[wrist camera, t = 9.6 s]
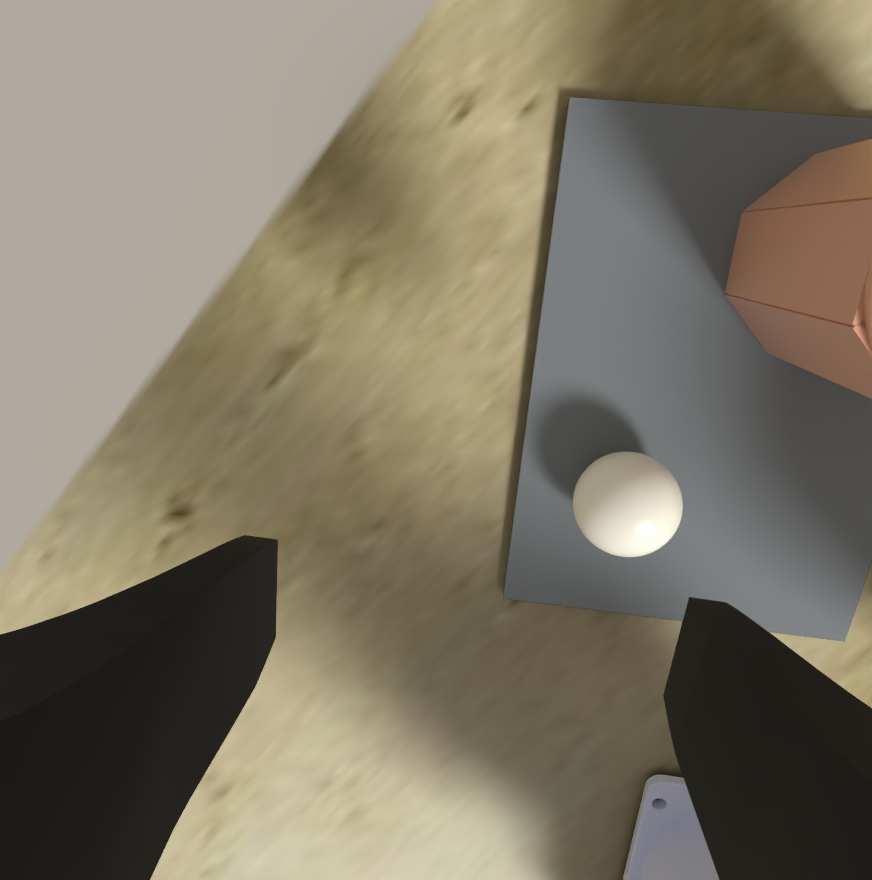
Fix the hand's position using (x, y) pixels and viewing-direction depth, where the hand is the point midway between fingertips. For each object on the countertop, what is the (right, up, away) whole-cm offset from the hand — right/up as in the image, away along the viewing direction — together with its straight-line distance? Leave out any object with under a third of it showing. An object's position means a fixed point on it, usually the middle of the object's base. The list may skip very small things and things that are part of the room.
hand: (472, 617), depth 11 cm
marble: (+5, +2, +8) cm, 10 cm away
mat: (+8, +4, +8) cm, 12 cm away
